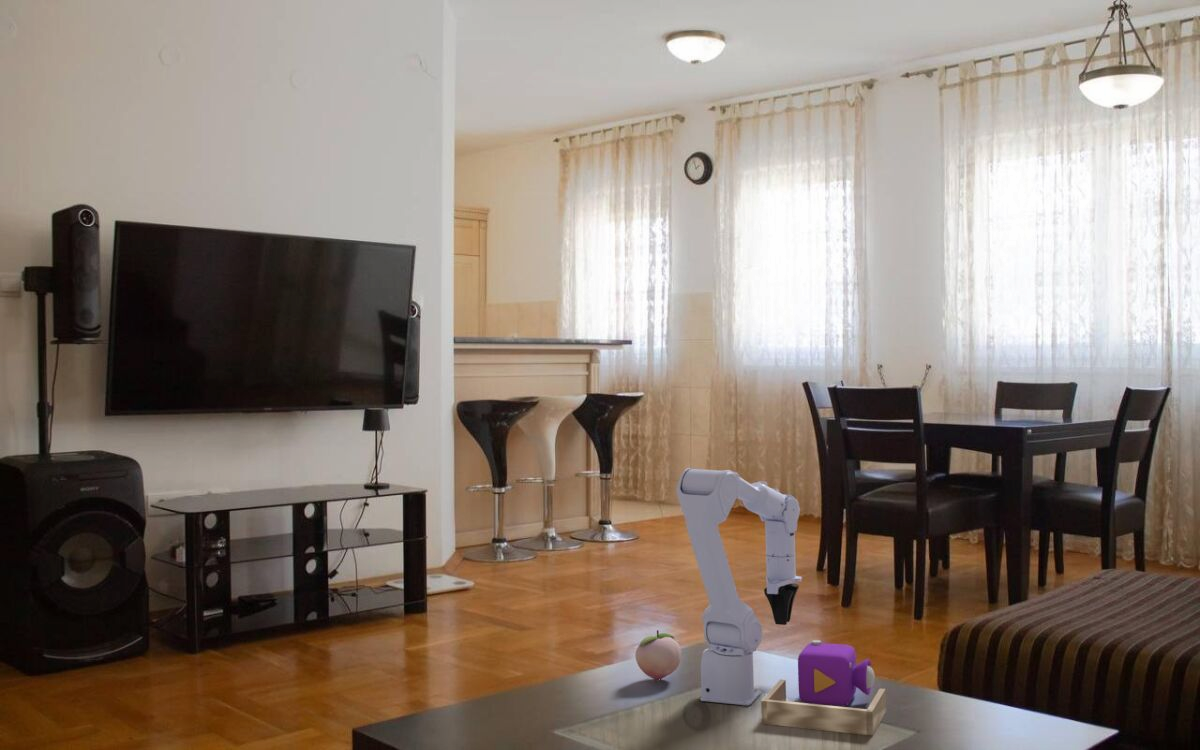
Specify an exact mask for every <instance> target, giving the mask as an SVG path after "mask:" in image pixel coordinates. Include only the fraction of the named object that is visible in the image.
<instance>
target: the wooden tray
mask: <svg viewBox="0 0 1200 750" xmlns="http://www.w3.org/2000/svg"><path fill="white" fill-rule="evenodd" d="M786 684H787V683H786V679H779V680H778V681H777V682H776V683H775V685H774V686H772V688H771V689H770V690H769V691H768V693H767V694H766V695H764V697H763V698H762V699H761V700H760V706H761V707H760V709H761V710H760V713H761V724H762V725H772V726H779V727H780V726H782V727H791V728H798V729H799V728H800V729H809V730H818V731H824V732H825V731H826V732H827V731H828V732H835V733H836V732H837V733H846V734H854V735H855V734H856V735H863V736H874V735H875V732H876V731H877V729H878V727H879V725H880V724H881V721H882V720H883V718H884V717H885V714H886V712H887V703H886V702H887V700H886V699H887V698H886V697H887V696H886V694H887V693H886V692H887V691H886V688H879V689H878V690H877V692H876V694H875V695H874V697H873V698H872V701H871V702H870V704H869V706H868V707H867V708H859V707H847V706H834V705H822V704H812V703H805V702H797V701H796V702H794V701H787V685H786Z"/></svg>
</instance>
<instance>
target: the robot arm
mask: <svg viewBox="0 0 1200 750" xmlns="http://www.w3.org/2000/svg"><path fill="white" fill-rule="evenodd" d="M675 493H676V495H677V499H678V501H679V504H680V508H681V511H682V513H683V514H682V515H683V517H684V520H685V525H686V526H685V527H686V530H687V535H688V538H689V541H690V543H691V546H692V547H691V548H692V550H693V553H694V557H695V559H696V562H697V566H698V569H699V573H700V575H701V580H702V582H703V586H704V589H705V592H706V596H707V598H708V602H709V605H708V606H707V607H706V608H705V609H704V611H703V613H702V615H701V619H702V622H703V637H704V640H705V642H706V643H707V644H708V645H709V646H710V647H709V648H705V649H704V650H703V652H702V656H701V660H700V684H701V685H700V686H701V687H700V689H701V697H700V701H701V702H709V703H710V702H711V703H718V704H719V703H721V704H729V705H740V706H750V705H752V703H754V702H755V700H756V699H757V698H758V697H759V696H760V695H761V694H762V693H761V692H762V691H761V690H759V689H757V690H755V685H754V682H755V681H754V678H755V677H754V653H755V652H756V651H757V649H758V648H759V647H760V644H761V643H762V640H763V628H762V627H763V626H762V625H761V622H760V620H759V619H758V618H757V616H756V615H755V611H754V609H753V608H752V607H751V606H749V605H748V604H747V603H745V602H744V601H743V600H742V599H740V597H739V593H738V590H737V586H736V583H735V580H734V577H733V574H732V571H731V567H730V563H729V560H728V557H727V552H726V551H725V546H724V543H723V540H722V537H721V534H720V531H719V525H720V524H722V523H724V522H726V520H727V518H728V517H729V515H730V512H731V510H732V507H733V506H734V504H735V501H736V499H737V500H740V501H742V504H743V506H744V507H745V509H747V511H749V512H750V513H751V512H752V513H753V514H755V515H756V514H757V515H758V516H759V520H761V522H764V526H765V527H764V529H765V530H764V531H765V535H764V536H765V563H766V564H765V565H766V569H765V570H766V576H765V582H766V586H765V588H764V589H763V591H764V596H765V597H766V599H767V600H768V603H769V605H770V608H771V612H772V616H773V617H772V618H773V620H774V624H775V625H779V626H781V625H782V626H787V624H788V623H789V622H790V620H791V617H792V612H793V611H792V610H793V605H794V602H795V597H796V595H797V592H798V590H799V588H800V585H799V584H798V583H800V582H802V580H803V577H802V576H800V575H799V576H798V575H797V571H796V569H797V568H796V541H795V540H796V537H795V536H796V535H795V532H797V529H798V522H799V521H798V520H799V517H800V512H801V507H800V504H799V501H798V500H797V498H795V497H794V496H793V495H792V494H783V493H781V492H780V490H779V489H778V488H774V487H773V488H771V487H770V486H768V482H766V481H765V480H763V481H761V480H758V481H757V482H752V483H750V482H748V481H746V480H745V479H743V478H742V477H741V476H740V474H739V473H738V472H735V471H733V470H730V469H725V470H718V469H717V470H716V469H715V470H714V469H698V468H697V469H696V468H693V467H688V468H687V467H686V469H685V470H683V471H682V473H681V475H680V477H679V480H678V484H677V487H676V491H675Z"/></svg>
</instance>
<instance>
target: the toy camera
mask: <svg viewBox="0 0 1200 750" xmlns="http://www.w3.org/2000/svg"><path fill="white" fill-rule="evenodd" d="M856 656H857V655H856V650H855V648H854V647H853V646H852V645H850V644H849V645H848V644H840V643H839V644H838V643H825V642H822V641H821V640H819V639H815V640H814V639H813V640H812V641H811V643H807V645H805V647H804V648H803V649H802V651H801V652H800V653H799V655H798V658H797V675H798V676H797V679H798V684H797V685H798V695H799V699H800V701H801V702H802V703H808V704H818V705H828V706H839V707H847V705H849V704H850V703H851V701H852V700H853V699H854V697H855V694H856V692H857V689H858V690H860V691H861V692H862V693H863V694H865V695H866V696H869V695H870V693H871V689H872V686H873V685H874V683H875V679H876V675H875V671H874V670H873V668H872V663H871V659H870V658H866V659H864V660H863V661H861V662H860V663H858V664H857V657H856Z"/></svg>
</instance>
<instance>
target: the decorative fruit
mask: <svg viewBox="0 0 1200 750" xmlns="http://www.w3.org/2000/svg"><path fill="white" fill-rule="evenodd" d="M659 632H660V631H659V629H658V630H656V635H654V636H653V635H652V636H646V637H644V638H643V639H642V640H641V641H640V643H639V645H638V646H637V648H636V651H635V654H634V655H635V661H636V664H637V666H638V667H639V669H640V670H641V671H642V672H643V673H644V675H646V676H648V677H649V678H651V679H653V680H655V681H657V680H659V679H663V678H667V676H669V675H671V674H672V673H674V672H675V671H676V670H677V669H678V667H679V666H680V663H681V659H682V650H681V647H680V645H679V643H678V642H677V641H676V640H674V639H675V637H674V636H673V634H671V633H665V632H662V633H659Z"/></svg>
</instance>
